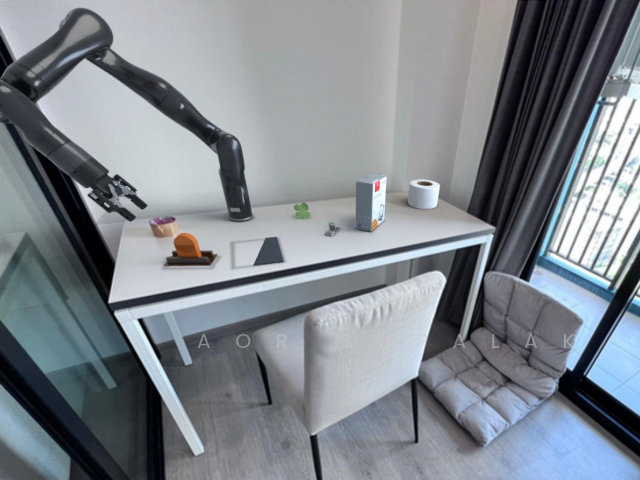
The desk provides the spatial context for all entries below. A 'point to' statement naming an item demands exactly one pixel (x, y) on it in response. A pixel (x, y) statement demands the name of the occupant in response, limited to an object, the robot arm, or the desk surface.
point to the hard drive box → (370, 201)
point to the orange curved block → (187, 246)
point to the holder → (191, 259)
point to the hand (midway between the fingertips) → (139, 213)
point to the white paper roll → (423, 194)
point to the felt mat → (269, 252)
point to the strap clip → (332, 229)
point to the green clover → (302, 210)
